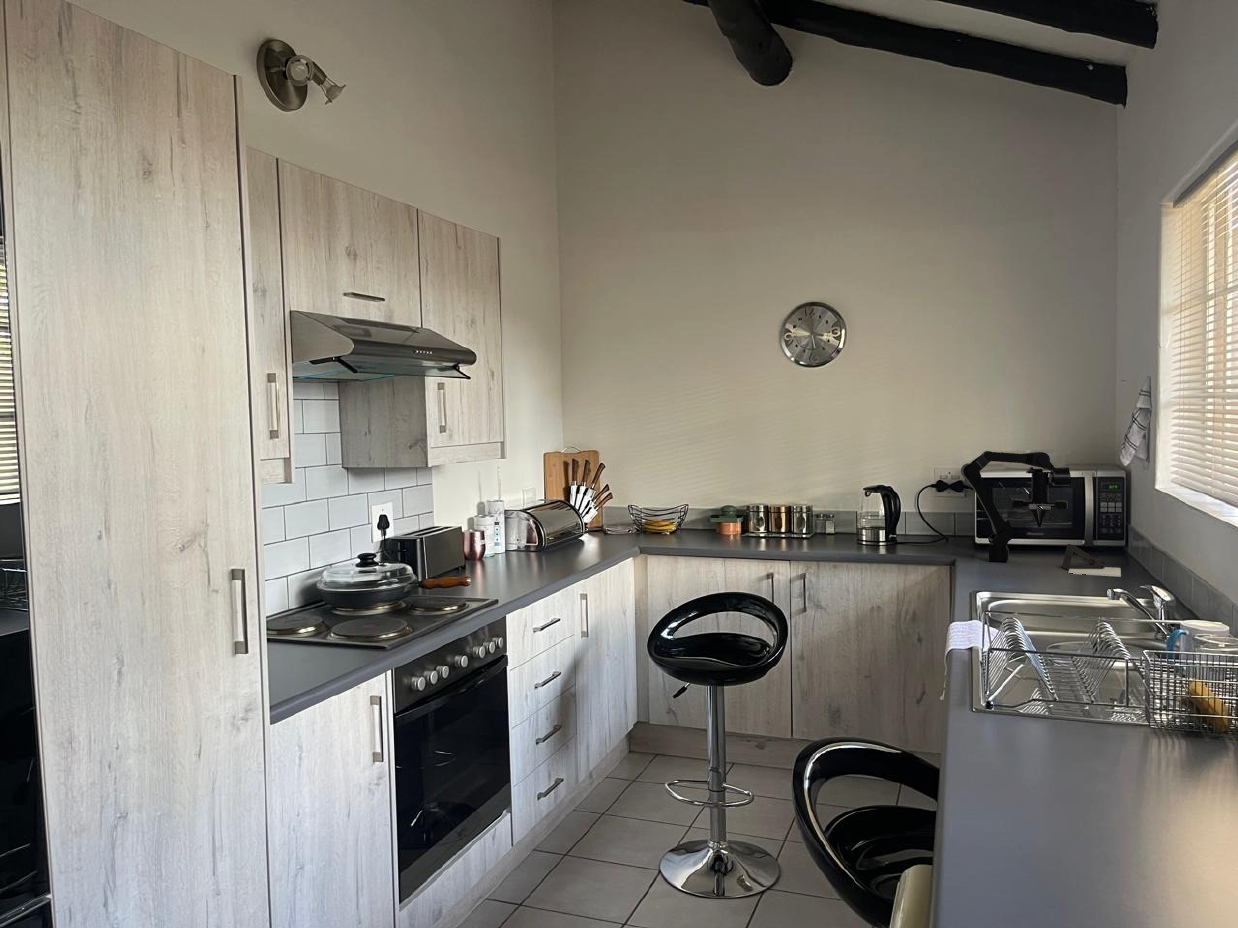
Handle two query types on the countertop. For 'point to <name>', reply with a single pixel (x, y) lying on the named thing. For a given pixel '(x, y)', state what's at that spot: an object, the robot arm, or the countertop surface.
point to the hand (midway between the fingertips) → (1039, 527)
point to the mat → (1098, 571)
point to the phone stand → (1090, 564)
